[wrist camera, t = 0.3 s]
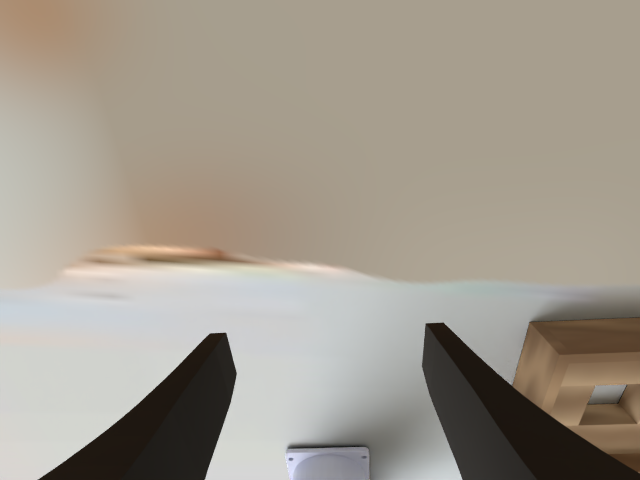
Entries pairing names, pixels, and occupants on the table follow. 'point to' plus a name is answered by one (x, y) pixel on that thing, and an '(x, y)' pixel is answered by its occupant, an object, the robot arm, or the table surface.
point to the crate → (586, 379)
